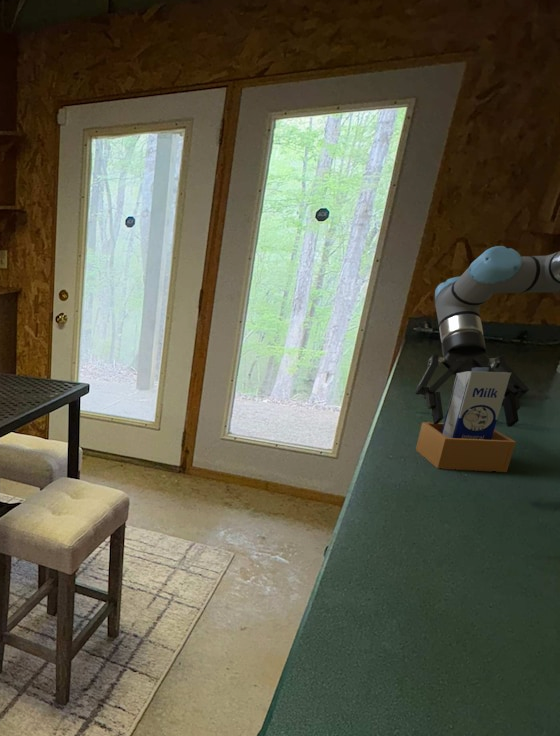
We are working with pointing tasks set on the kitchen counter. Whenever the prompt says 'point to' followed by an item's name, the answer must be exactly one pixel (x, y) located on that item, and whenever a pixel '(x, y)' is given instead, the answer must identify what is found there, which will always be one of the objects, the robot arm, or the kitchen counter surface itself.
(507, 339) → the kitchen counter surface
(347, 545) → the kitchen counter surface
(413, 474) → the kitchen counter surface
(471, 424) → the milk carton
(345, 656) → the kitchen counter surface
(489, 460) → the bin
